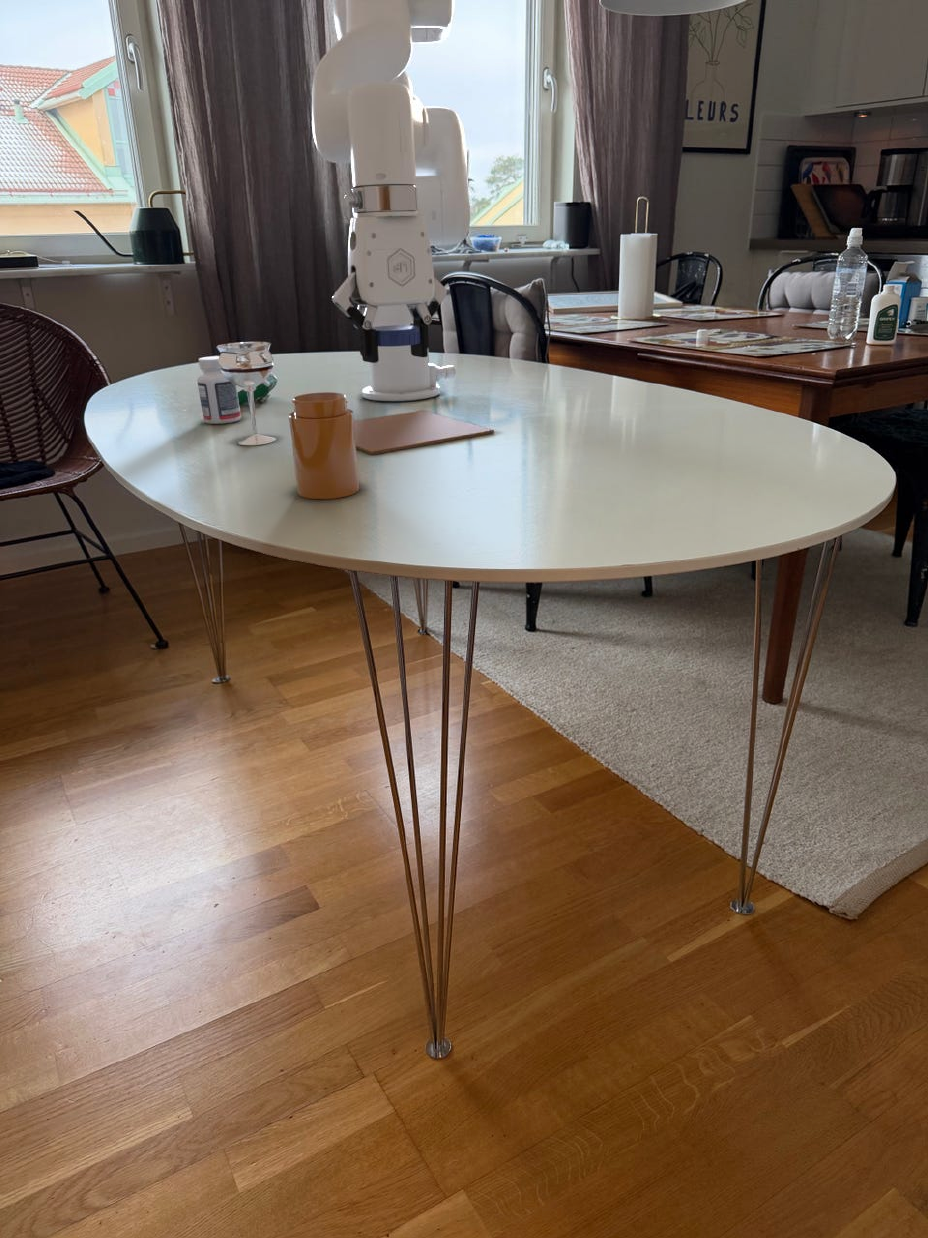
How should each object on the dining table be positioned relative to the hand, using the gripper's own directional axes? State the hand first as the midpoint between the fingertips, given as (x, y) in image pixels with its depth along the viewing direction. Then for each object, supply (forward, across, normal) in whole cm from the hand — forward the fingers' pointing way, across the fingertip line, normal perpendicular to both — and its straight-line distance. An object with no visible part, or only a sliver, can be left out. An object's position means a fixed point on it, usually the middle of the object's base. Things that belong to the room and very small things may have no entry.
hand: (395, 357), depth 110 cm
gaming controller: (+9, -6, +36) cm, 38 cm away
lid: (-3, 0, 0) cm, 3 cm away
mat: (+10, 0, 0) cm, 10 cm away
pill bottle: (+10, -16, +24) cm, 31 cm away
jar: (+10, -20, -20) cm, 29 cm away
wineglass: (+10, -17, +8) cm, 21 cm away
